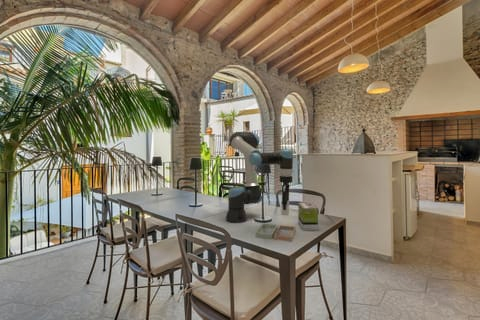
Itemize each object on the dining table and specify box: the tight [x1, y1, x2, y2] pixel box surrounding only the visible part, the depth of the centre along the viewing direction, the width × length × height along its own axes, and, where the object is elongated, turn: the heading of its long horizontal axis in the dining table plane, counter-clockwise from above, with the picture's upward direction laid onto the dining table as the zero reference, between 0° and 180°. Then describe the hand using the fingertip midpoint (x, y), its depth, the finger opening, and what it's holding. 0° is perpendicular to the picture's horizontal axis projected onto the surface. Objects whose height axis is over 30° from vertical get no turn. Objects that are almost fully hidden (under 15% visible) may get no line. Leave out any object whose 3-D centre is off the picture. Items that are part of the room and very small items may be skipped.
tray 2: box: [273, 224, 297, 242], centre depth 149 cm, size 10×18×2 cm, turn 160°
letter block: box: [280, 200, 290, 216], centre depth 148 cm, size 4×4×8 cm
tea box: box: [297, 201, 319, 231], centre depth 163 cm, size 15×10×15 cm
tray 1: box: [254, 222, 279, 240], centre depth 153 cm, size 10×18×2 cm, turn 160°
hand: (285, 213), depth 148 cm, fingers closed on letter block, 4 cm apart
